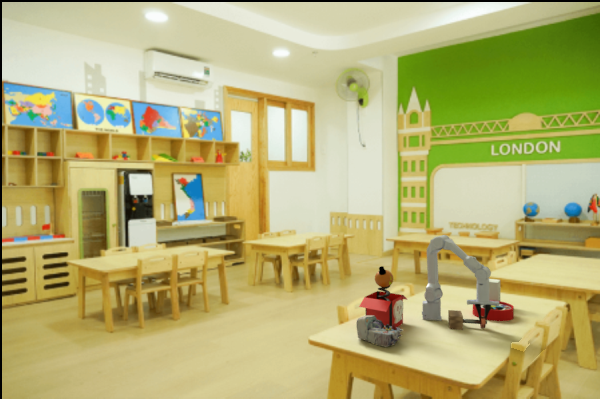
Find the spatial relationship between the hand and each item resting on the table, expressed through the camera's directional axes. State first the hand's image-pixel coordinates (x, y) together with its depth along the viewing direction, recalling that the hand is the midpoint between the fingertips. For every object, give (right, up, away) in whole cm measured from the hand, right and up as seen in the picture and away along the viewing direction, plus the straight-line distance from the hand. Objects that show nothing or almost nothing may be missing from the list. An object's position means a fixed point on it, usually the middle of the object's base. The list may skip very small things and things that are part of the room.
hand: (482, 319), depth 212 cm
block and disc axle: (-6, -4, +2) cm, 7 cm away
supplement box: (+21, -3, +38) cm, 44 cm away
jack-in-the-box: (-46, -5, +7) cm, 47 cm away
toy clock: (+14, -4, +20) cm, 25 cm away
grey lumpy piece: (-54, -6, -16) cm, 56 cm away
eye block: (-12, -4, +3) cm, 13 cm away
